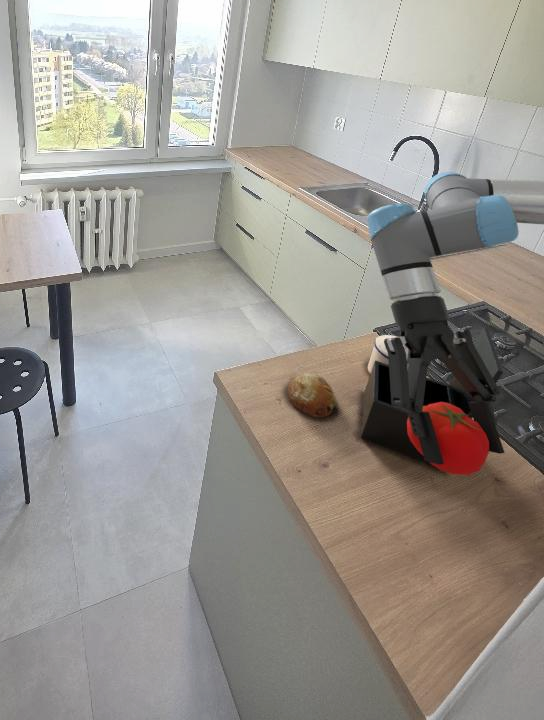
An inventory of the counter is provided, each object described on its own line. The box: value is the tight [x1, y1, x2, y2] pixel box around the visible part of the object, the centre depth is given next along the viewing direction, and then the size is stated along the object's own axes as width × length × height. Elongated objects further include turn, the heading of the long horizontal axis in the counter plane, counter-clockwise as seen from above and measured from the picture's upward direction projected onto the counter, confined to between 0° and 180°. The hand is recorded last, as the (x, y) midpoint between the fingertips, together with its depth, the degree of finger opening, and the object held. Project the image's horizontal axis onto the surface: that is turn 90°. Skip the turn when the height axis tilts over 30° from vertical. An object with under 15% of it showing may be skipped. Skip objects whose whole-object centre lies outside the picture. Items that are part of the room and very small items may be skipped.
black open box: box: [360, 360, 454, 471], centre depth 87 cm, size 15×13×11 cm
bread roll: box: [287, 372, 338, 418], centre depth 95 cm, size 10×10×8 cm
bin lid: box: [449, 326, 504, 420], centre depth 79 cm, size 16×13×1 cm
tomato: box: [407, 402, 490, 476], centre depth 62 cm, size 9×10×8 cm
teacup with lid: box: [367, 334, 409, 374], centre depth 103 cm, size 12×9×12 cm
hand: (464, 456), depth 59 cm, fingers closed on tomato, 9 cm apart
